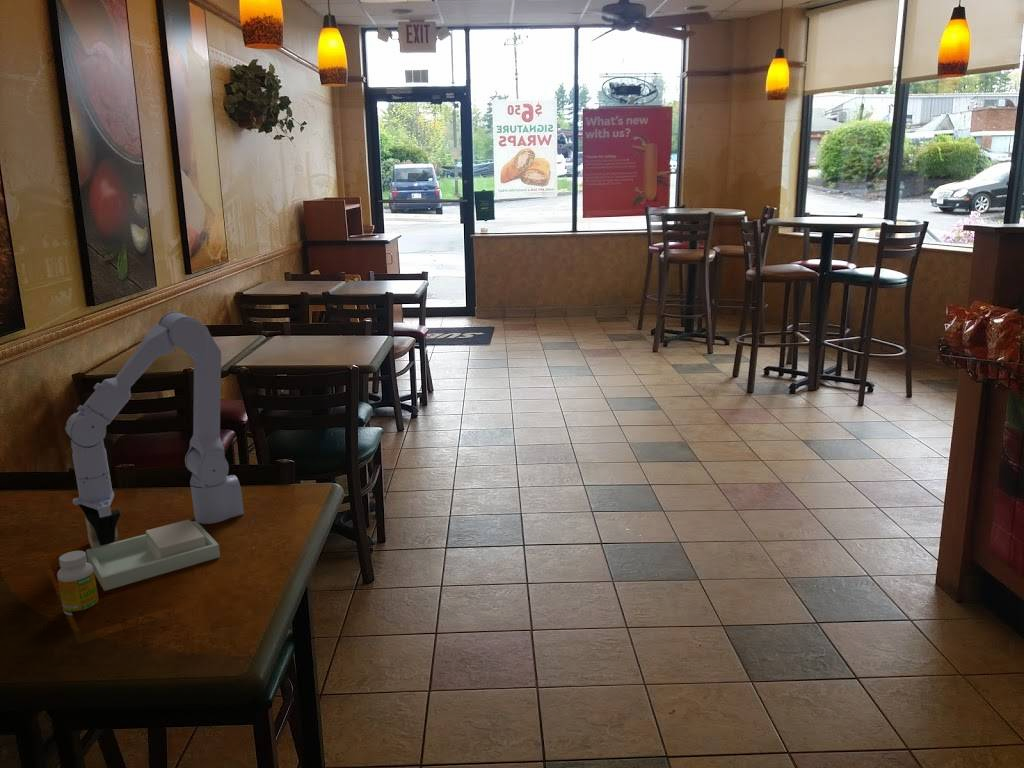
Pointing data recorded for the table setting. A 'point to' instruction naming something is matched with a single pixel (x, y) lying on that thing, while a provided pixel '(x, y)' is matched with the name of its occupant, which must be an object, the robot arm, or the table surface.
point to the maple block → (93, 537)
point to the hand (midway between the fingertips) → (103, 539)
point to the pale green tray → (142, 560)
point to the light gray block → (174, 539)
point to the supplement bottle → (76, 582)
